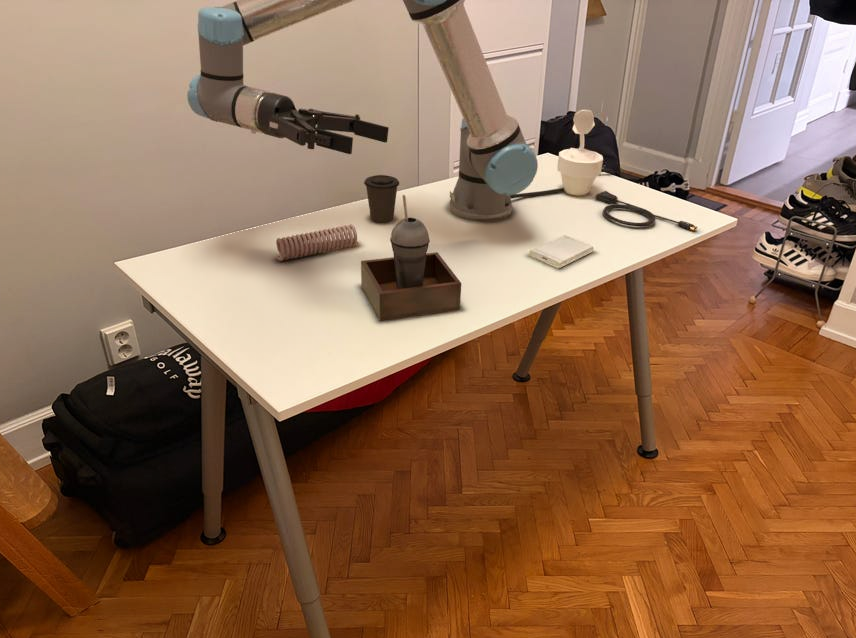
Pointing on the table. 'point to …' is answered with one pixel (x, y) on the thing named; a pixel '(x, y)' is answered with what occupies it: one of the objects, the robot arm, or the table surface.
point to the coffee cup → (381, 197)
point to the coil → (316, 242)
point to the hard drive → (561, 251)
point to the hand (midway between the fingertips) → (370, 140)
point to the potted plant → (580, 159)
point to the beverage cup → (409, 250)
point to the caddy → (410, 289)
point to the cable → (612, 199)
